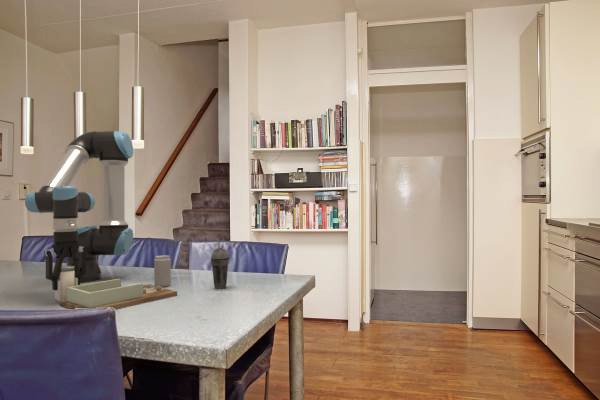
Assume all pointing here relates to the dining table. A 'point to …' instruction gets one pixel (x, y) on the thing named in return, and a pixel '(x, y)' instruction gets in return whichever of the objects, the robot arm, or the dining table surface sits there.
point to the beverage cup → (220, 267)
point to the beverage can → (162, 271)
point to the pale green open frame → (103, 293)
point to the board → (148, 295)
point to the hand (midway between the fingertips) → (66, 297)
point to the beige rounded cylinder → (66, 280)
